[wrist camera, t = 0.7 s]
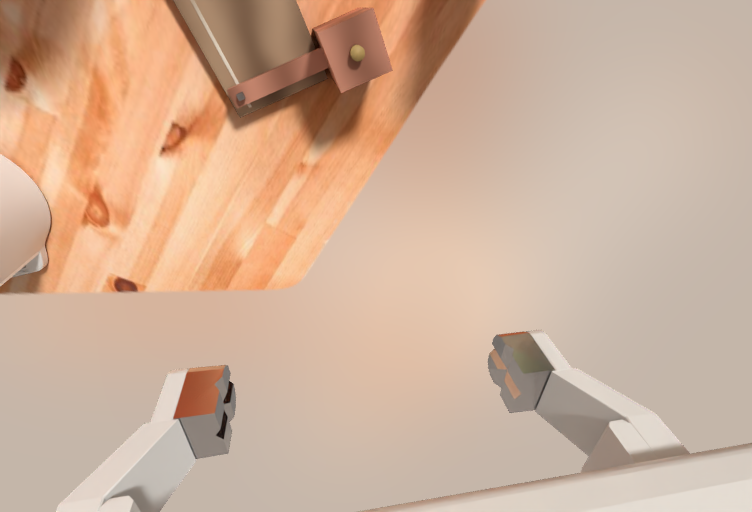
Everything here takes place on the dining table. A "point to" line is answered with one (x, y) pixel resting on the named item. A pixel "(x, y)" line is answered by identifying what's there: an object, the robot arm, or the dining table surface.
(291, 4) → the plank
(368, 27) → the latch lever with knob
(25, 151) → the dining table surface
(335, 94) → the dining table surface
